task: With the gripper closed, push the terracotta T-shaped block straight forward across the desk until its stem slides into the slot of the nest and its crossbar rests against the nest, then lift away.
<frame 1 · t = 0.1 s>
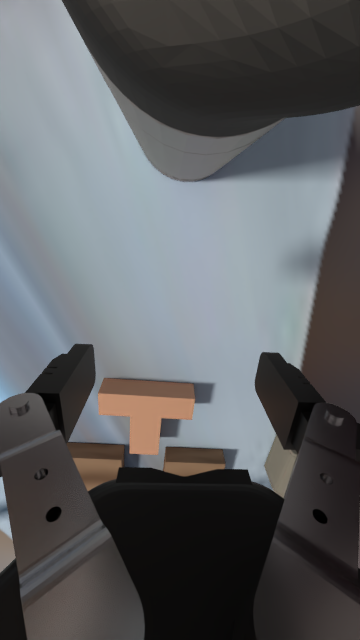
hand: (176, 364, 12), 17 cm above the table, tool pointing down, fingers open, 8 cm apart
slot nest: (143, 466, 41), on the table
t block: (148, 400, 35), on the table
digital clock: (295, 446, 40), on the table
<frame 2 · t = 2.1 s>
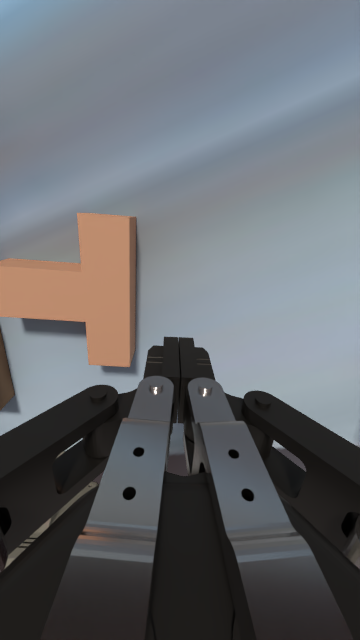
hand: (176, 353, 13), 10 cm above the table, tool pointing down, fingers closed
t block: (95, 287, 22), on the table
digital clock: (40, 470, 31), on the table
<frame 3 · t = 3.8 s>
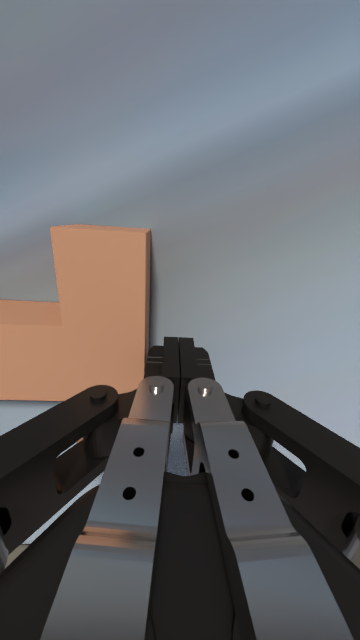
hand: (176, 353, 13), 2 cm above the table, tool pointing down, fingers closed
t block: (86, 337, 14), on the table, touching gripper
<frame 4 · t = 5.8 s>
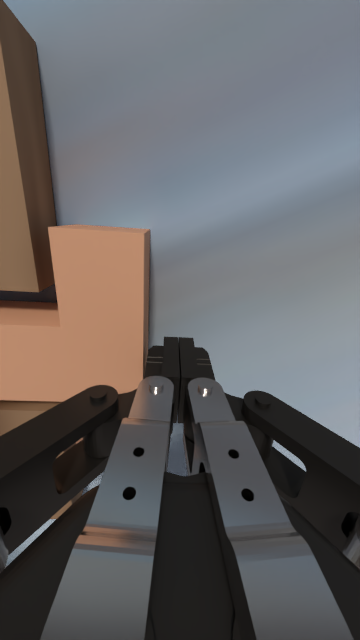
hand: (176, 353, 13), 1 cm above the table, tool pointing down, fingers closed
t block: (86, 337, 14), on the table, touching gripper
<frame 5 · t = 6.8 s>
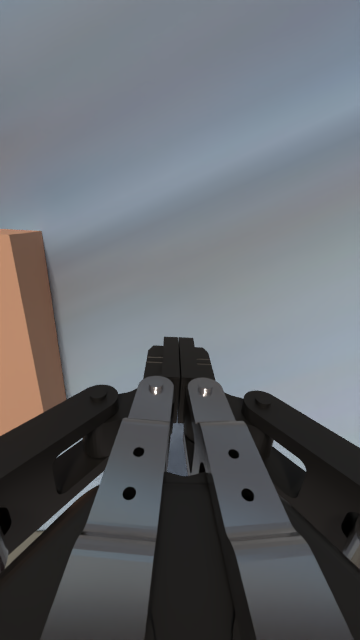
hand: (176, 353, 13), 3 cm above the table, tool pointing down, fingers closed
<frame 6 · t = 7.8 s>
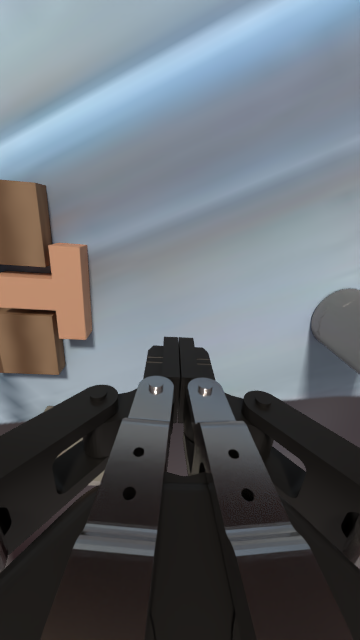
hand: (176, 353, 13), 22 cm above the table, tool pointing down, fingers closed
slot nest: (20, 285, 33), on the table
t block: (63, 288, 34), on the table
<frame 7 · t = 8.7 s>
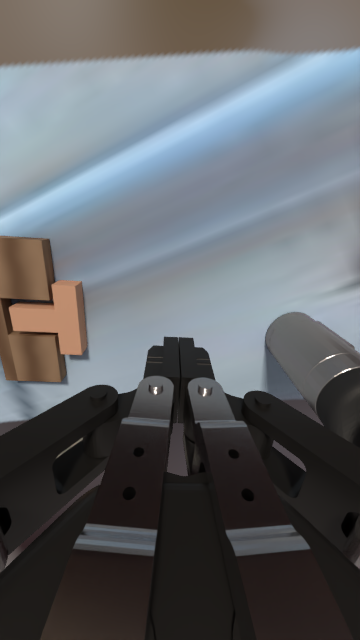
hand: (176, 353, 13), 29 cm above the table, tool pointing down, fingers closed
slot nest: (30, 312, 42), on the table
t block: (63, 314, 43), on the table
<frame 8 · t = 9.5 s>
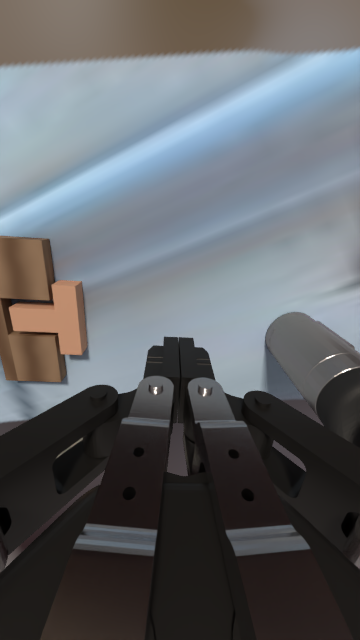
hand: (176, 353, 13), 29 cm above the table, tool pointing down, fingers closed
slot nest: (30, 312, 42), on the table
t block: (63, 314, 43), on the table
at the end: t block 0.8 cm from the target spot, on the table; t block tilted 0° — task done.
